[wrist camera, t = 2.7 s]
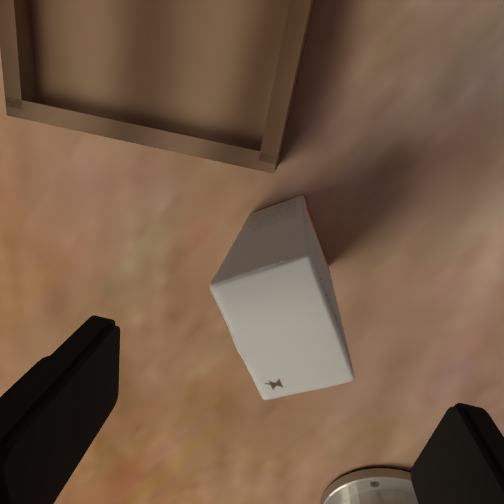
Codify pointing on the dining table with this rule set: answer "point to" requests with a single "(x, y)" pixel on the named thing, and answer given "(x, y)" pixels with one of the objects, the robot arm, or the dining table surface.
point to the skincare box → (283, 303)
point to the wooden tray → (159, 71)
